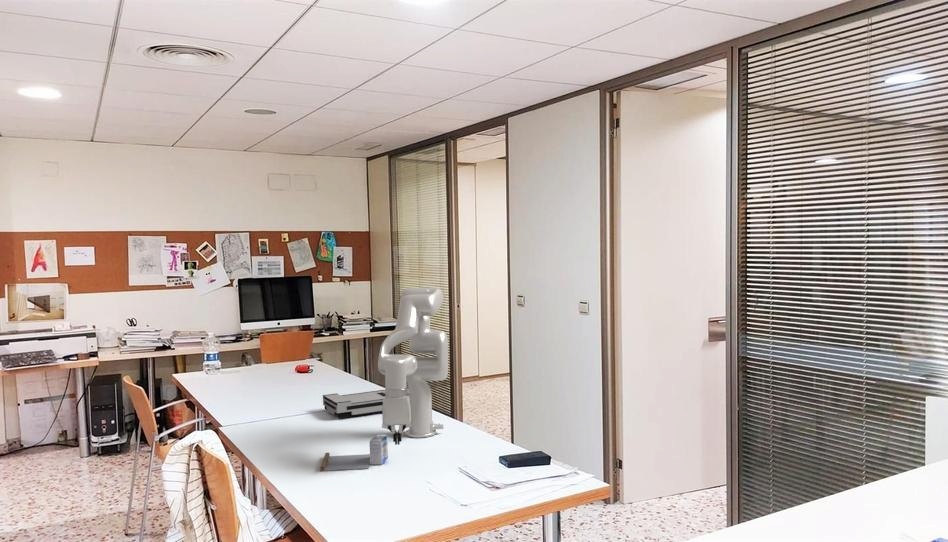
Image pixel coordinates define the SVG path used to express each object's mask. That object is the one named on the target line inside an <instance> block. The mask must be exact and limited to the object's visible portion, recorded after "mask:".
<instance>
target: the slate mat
mask: <svg viewBox="0 0 948 542" xmlns="http://www.w3.org/2000/svg"><path fill="white" fill-rule="evenodd" d="M369 468H370V453H367V454H349V455H345V454H344V455H330V457H329V459H328V462H327V465H326V467H325V470H324V471H323V472H336V471H339V472H340V471H355V470H360V471H361V470H369Z"/></svg>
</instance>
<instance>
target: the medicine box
mask: <svg viewBox="0 0 948 542" xmlns="http://www.w3.org/2000/svg"><path fill="white" fill-rule="evenodd" d="M388 441H389V440H388V435H387V434H376V435H375V436H374V437H372V438H371V439H370V440H369V454H370V463H369V465H375V466H376V465H378V466H380V465H381V466H383V464H384V463H385V462H386V461H387V460H388V459H389V447H388V446H389V445H388V444H389V443H388Z"/></svg>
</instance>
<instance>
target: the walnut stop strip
mask: <svg viewBox="0 0 948 542" xmlns="http://www.w3.org/2000/svg"><path fill="white" fill-rule="evenodd" d="M330 454H331V453H330V452H325V454H324V456H323V458H322V461H321V464H320V467H319V470H320V472H321V473H322V472H325V471H324V470H325V467H326V465H327V462H328V459H329V457H330V456H331V455H330Z"/></svg>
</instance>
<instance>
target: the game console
mask: <svg viewBox="0 0 948 542" xmlns="http://www.w3.org/2000/svg"><path fill="white" fill-rule="evenodd" d="M384 396H386V390H385V389H379V390H371V391H363V392H357V393H349V394H341V395H340V394H339V393H329V394H323V395H322V405H323V406H324V410H325V411H326V412H328V413H330V414H331V415H333V416H336V417H337V418H338V419H340V420H349V419H355V418H356V419H357V418H361V417H362V418H363V417H369V416H374V415H382V409H383V398H384Z"/></svg>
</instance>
